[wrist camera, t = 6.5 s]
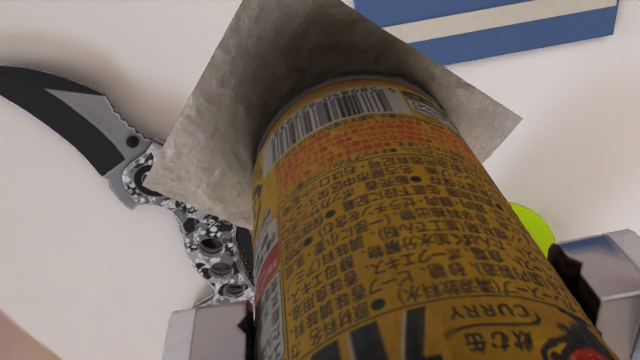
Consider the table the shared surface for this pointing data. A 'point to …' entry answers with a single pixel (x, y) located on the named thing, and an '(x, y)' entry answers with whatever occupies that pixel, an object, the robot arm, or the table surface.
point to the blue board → (489, 24)
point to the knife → (131, 171)
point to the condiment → (365, 196)
